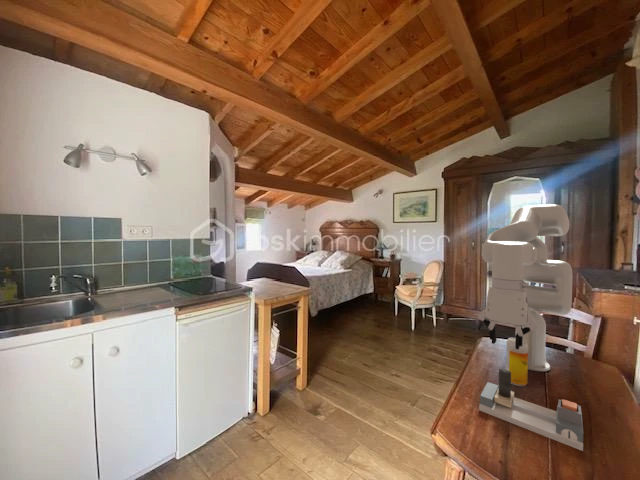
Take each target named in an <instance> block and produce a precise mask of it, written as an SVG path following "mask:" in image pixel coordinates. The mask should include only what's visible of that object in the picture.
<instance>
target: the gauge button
mask: <svg viewBox="0 0 640 480" xmlns="http://www.w3.org/2000/svg"><path fill="white" fill-rule="evenodd" d="M561 400H562V407H563V408H566V409H569V410H572V411H575V412H577V405H578V404H577V403H576V402H574V401H570V400H566V399H563V398H562V399H561Z"/></svg>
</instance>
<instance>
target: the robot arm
mask: <svg viewBox="0 0 640 480" xmlns="http://www.w3.org/2000/svg"><path fill="white" fill-rule="evenodd" d="M570 226H571V225H570V218H569V216H568V213H567V211H566V209H565V208H564V207H563V206H562V205H560V204H557V203H556V204H551V203H549V204H538V205H537V204H534V205H533V204H532V205H526V206H522V207H519V208H518V209H517V210H516V211H515V213H514V215H513V217H512V219H511V220H510V223H509V224H507V225H504V226H503V227H501V228H498V229H496V230H494V231H492V232H490V233H489V234H488V236H487V237H486V239H485V241H484V244H483V245H482V249H481V258H482V259H483V261H484V262H485V263H487V264H491V286H489V287H488V290H487V297H486V303H485V304H486V305H485V308H484V309H483V310H481V311H480V312H479V313H478V314H477V317H478V319H480V320H481V321H482V322H483V324H484V325H485V326H486V327H487V329H488V330H489V340H491V344H492V345H494V344H496V343H497V334H498V333H497V332H498V331H497V328H496V325H497V323H501V324H506V325H513V326H514V327H515V337H514V338H516V342H515V349H517V350H519V347H520V346H521V347H522V343H523V340H525V341H526V342H527V344H528V371H529V370H530V371H533V372H534V371H535V372H547V371H550V370H551V365H550V364H549V363H548V362H547V361H546V340H547V339H546V334H547V333H546V332H547V331H546V330H547V323H546V320H545V318H544V317H543V316H542V315H541V313H540V312H543V313H548V314H554V315H555V314H556V315H561V316H566V315H568V314H570V312H571V311H572V305H573V269H572V266H571V264H570V263H569V262H567V261H564V260H558V259H557V260H556V259H555V260H554V259H548V246H547V244H546V243H545V242H544V241H543V240H542V239H541V238H539V237H562V236H565V235H567V233H569V230H570ZM530 283H534V284H535V283H536V284H544V285H551V286H552V285H553V286H555V287H547V286H540V285H539V286H538V285H537V286H536V285H530Z"/></svg>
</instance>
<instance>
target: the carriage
mask: <svg viewBox="0 0 640 480" xmlns="http://www.w3.org/2000/svg"><path fill="white" fill-rule="evenodd" d="M498 386H499V388H498V390H497V392H496V394H495V397H494V402H496V403H499V404H501V405H504V406H507V407H510V408H512V403H513V400H514V397H515V391H512V384H511V372H510V371H508V370H506V368H499V369H498Z"/></svg>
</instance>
